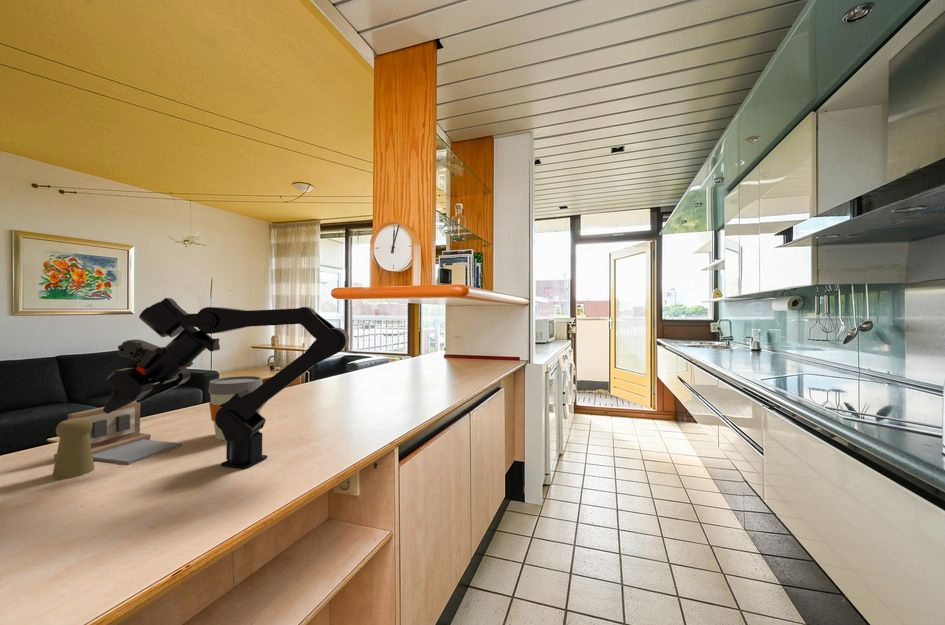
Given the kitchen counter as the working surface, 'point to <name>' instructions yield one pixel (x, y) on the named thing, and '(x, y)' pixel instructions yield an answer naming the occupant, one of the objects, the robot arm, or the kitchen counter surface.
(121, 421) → the switch panel
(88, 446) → the cork
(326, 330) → the robot arm
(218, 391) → the reusable coffee cup
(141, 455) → the mat
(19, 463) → the kitchen counter surface
